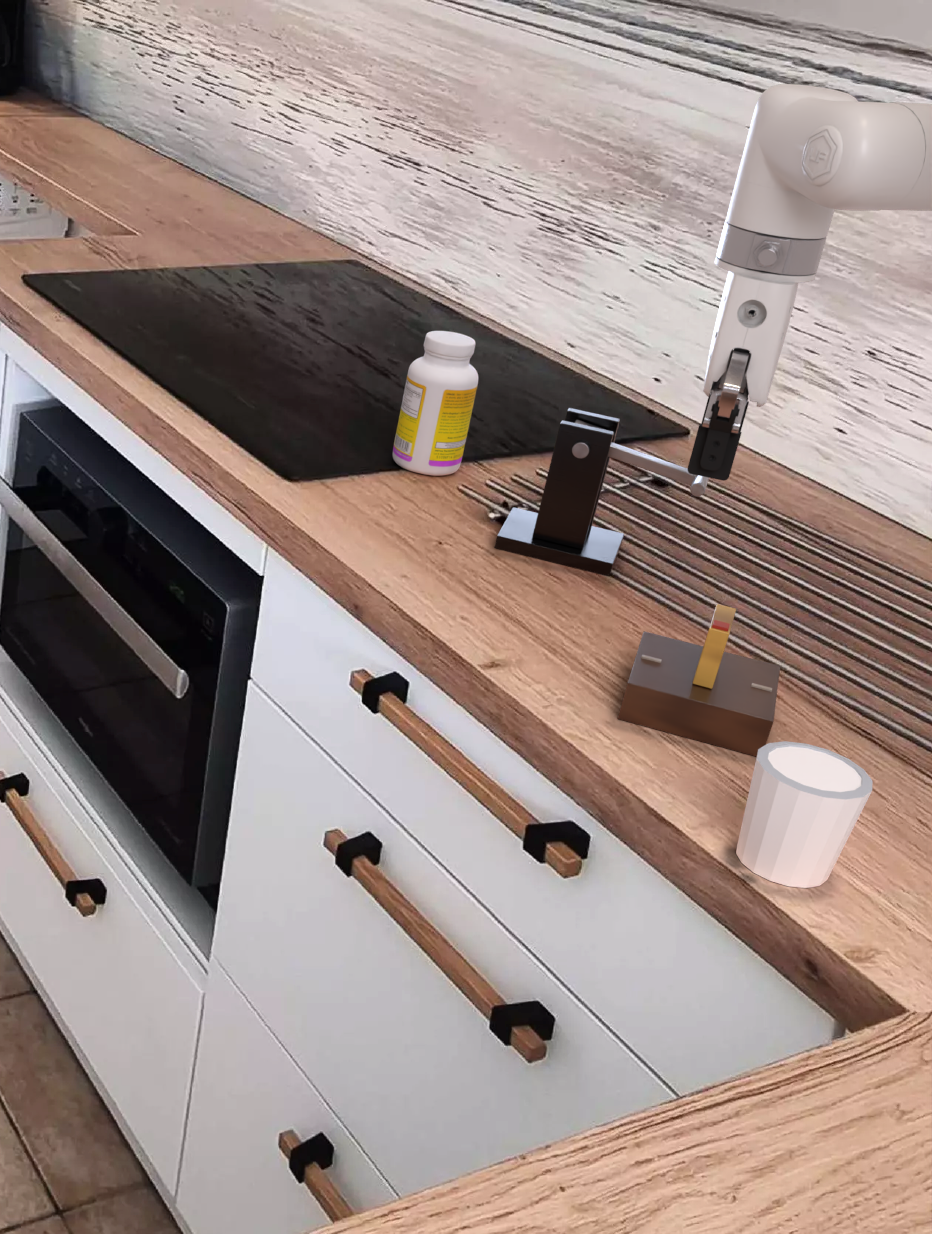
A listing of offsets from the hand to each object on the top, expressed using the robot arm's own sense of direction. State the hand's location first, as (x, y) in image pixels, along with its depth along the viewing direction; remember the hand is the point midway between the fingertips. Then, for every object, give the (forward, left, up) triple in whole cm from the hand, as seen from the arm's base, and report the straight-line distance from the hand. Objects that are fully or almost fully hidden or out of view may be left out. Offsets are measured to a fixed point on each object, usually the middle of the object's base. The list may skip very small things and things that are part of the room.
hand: (712, 459), depth 143 cm
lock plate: (-4, +23, -12) cm, 26 cm away
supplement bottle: (+25, -16, -12) cm, 32 cm away
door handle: (+6, -3, -3) cm, 7 cm away
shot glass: (-11, +42, -12) cm, 45 cm away
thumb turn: (-4, +23, -9) cm, 25 cm away
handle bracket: (+10, -3, -12) cm, 16 cm away
